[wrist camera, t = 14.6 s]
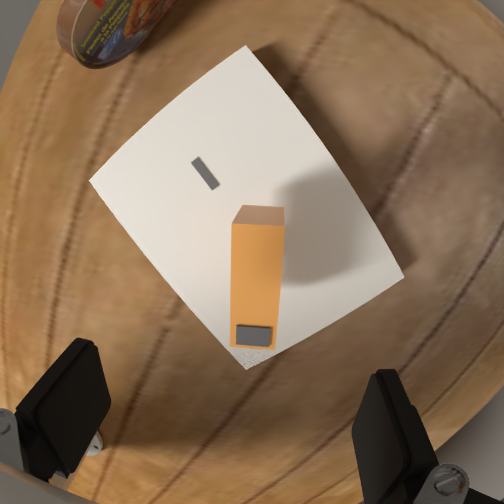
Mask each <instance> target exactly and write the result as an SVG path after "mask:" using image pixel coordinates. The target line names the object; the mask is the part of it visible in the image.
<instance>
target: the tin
mask: <svg viewBox="0 0 504 504" xmlns="http://www.w3.org/2000/svg"><path fill="white" fill-rule="evenodd" d="M176 1H177V0H64V2H63V4H62V7H61V9H60V12H59V15H58V19H57V27H56V31H57V38H58V41H59V44H60V46H61V47H62V49H63V50H64V51H65V52H66V53H67V54H69V55H70V56H71V57H73V58H74V59H76V60H77V61H78V62H79V63H80V64H81V65H82V66H84V67H86V68H90V69H102V68H106V67H109V66H111V65H114V64H116V63H117V62H119V61H121V60H122V59H124V58H126V57H127V56H128V55H129V54H131V53H132V52H133V51H134V50H135V49H136V48H137V47H138V46H139V45H140V44H141V43H142V42H143V41H144V40H145V39H146V37H147V36H148V35H149V34H150V32H151V31H152V30H153V28H154V27H155V26H156V25H157V23H158V22H159V21H160V20H161V18H162V17H163V16H164V15H165V14H166V12H167V11H168V10H169V9H170V8H171V6H172V5H173V4H174V3H175V2H176Z"/></svg>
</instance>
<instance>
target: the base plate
mask: <svg viewBox="0 0 504 504" xmlns="http://www.w3.org/2000/svg"><path fill="white" fill-rule="evenodd" d="M89 181H90V183H91V184H92V185H93V187H94V188H95V190H96V191H97V192H98V194H99V195H100V197H101V198H102V199H103V201H104V202H105V203H106V205H107V206H108V207H109V209H110V210H111V211H112V213H113V214H114V215H115V217H116V218H117V219H118V221H119V222H120V223H121V225H122V226H123V227H124V229H125V230H126V231H127V232H128V234H129V235H130V236H131V238H132V239H133V240H134V241H135V243H136V244H137V245H138V247H139V248H140V249H141V250H142V252H143V253H144V254H145V255H146V257H147V258H148V259H149V260H150V262H151V263H152V264H153V265H154V266H155V268H156V269H157V270H158V271H159V273H160V274H161V275H162V276H163V277H164V279H165V280H166V281H167V282H168V283H169V285H170V286H171V287H172V288H173V289H174V290H175V292H176V293H177V294H178V295H179V296H180V298H181V299H182V300H183V301H184V302H185V303H186V304H187V306H188V307H189V308H190V309H191V310H192V311H193V312H194V314H195V315H196V316H197V317H198V318H199V319H200V320H201V322H202V323H203V324H204V325H205V326H206V327H207V328H208V329H209V330H210V332H211V333H212V334H213V335H214V336H215V337H216V338H217V339H218V340H219V341H220V343H221V344H222V345H223V346H224V347H225V348H226V349H227V350H228V351H229V352H230V353H231V354H232V355H233V357H234V358H235V359H236V360H237V361H238V362H239V363H240V364H241V365H242V366H243V367H244V368H245V369H246V370H247V369H249V368H251V367H253V366H255V365H257V364H259V363H261V362H263V361H264V360H266V359H268V358H270V357H272V356H274V355H276V354H278V353H280V352H282V351H283V350H285V349H287V348H289V347H291V346H293V345H294V344H296V343H298V342H300V341H302V340H304V339H305V338H307V337H309V336H311V335H312V334H314V333H316V332H318V331H319V330H321V329H323V328H325V327H326V326H328V325H330V324H331V323H333V322H335V321H337V320H338V319H340V318H342V317H343V316H345V315H347V314H348V313H350V312H351V311H353V310H355V309H356V308H358V307H360V306H361V305H363V304H364V303H366V302H368V301H369V300H371V299H372V298H374V297H375V296H377V295H379V294H380V293H382V292H383V291H385V290H386V289H388V288H389V287H391V286H392V285H394V284H395V283H397V282H398V281H400V280H401V279H403V278H404V275H403V273H402V271H401V269H400V268H399V266H398V264H397V262H396V260H395V258H394V256H393V255H392V253H391V251H390V249H389V247H388V246H387V244H386V242H385V240H384V239H383V237H382V235H381V233H380V232H379V230H378V228H377V227H376V225H375V223H374V222H373V220H372V218H371V217H370V215H369V213H368V212H367V210H366V208H365V207H364V205H363V203H362V202H361V200H360V199H359V197H358V195H357V194H356V192H355V191H354V189H353V188H352V186H351V184H350V183H349V181H348V180H347V178H346V177H345V175H344V174H343V172H342V171H341V169H340V168H339V166H338V165H337V163H336V162H335V160H334V159H333V157H332V156H331V154H330V153H329V152H328V150H327V149H326V147H325V146H324V144H323V143H322V142H321V140H320V139H319V137H318V136H317V134H316V133H315V132H314V130H313V129H312V128H311V126H310V125H309V123H308V122H307V121H306V119H305V118H304V117H303V115H302V114H301V113H300V111H299V110H298V109H297V107H296V106H295V105H294V104H293V102H292V101H291V100H290V98H289V97H288V96H287V95H286V93H285V92H284V91H283V89H282V88H281V87H280V86H279V84H278V83H277V82H276V81H275V80H274V78H273V77H272V76H271V75H270V73H269V72H268V71H267V70H266V69H265V67H264V66H263V65H262V64H261V63H260V61H259V60H258V59H257V58H256V57H255V56H254V54H253V53H252V52H251V51H250V50H249V49H248V48H247V46H246V45H245V46H244V47H242V48H241V49H240V50H238V51H237V52H235V53H234V54H232V55H231V56H229V57H228V58H227V59H225V60H224V61H222V62H221V63H220V64H218V65H217V66H216V67H214V68H213V69H212V70H210V71H209V72H208V73H206V74H205V75H204V76H202V77H201V78H200V79H199V80H197V81H196V82H195V83H193V84H192V85H191V86H190V87H188V88H187V89H186V90H185V91H183V92H182V93H181V94H180V95H179V96H177V97H176V98H175V99H174V100H173V101H171V102H170V103H169V104H168V105H167V106H165V107H164V108H163V109H162V110H161V111H160V112H159V113H157V114H156V115H155V116H154V117H153V118H152V119H151V120H150V121H148V122H147V123H146V124H145V125H144V126H143V127H142V128H141V129H140V130H139V131H138V132H137V133H135V134H134V135H133V136H132V137H131V138H130V139H129V140H128V141H127V142H126V143H125V144H124V145H123V146H122V147H121V148H120V149H119V150H118V151H117V152H116V153H115V154H114V155H113V156H112V157H111V158H110V159H109V160H108V161H107V162H106V163H105V164H104V165H103V166H102V167H101V168H100V169H99V170H98V171H97V173H96V174H95V175H94V176H93V177H92V178H91V179H90V180H89ZM242 205H257V206H274V207H284V213H285V237H284V251H283V264H282V277H281V289H280V301H279V313H278V324H277V335H276V345H275V350H266V349H252V348H240V347H230V286H231V225H232V222H233V220H234V218H235V216H236V215H237V213H238V211H239V210H240V208H241V206H242Z"/></svg>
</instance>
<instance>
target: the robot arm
mask: <svg viewBox="0 0 504 504" xmlns="http://www.w3.org/2000/svg"><path fill="white" fill-rule="evenodd" d="M110 406H111V398H110V395H109V391H108V388H107V384H106V380H105V376H104V372H103V368H102V364H101V360H100V356H99V352H98V348H97V346H95V345H94V343H93V342H92V341H91V340H87V339H82V338H76V339H75V340H74V341H73V342H72V343H71V344H70V345H69V346H68V348H67V349H66V350H65V351H64V352H63V353H62V354H61V355H60V356H59V358H58V359H57V360H56V361H55V362H54V363H53V364H52V366H51V367H50V368H49V369H48V370H47V371H46V373H45V374H44V375H43V376H42V377H41V378H40V380H39V381H38V382H37V383H36V384H35V385H34V387H33V388H32V389H31V390H30V391H29V393H28V394H27V395H26V396H25V397H24V399H23V400H22V401H21V402H20V403H19V405H18V406H17V407H16V410H17V411H16V412H15V413H14V414H13V413H12V412H11V411H9V410H8V409H4V408H0V504H99V503H96V502H93V501H90V500H88V499H85V498H82V497H80V496H77V495H75V494H72V493H70V492H68V491H67V490H68V489H69V487H70V485H71V483H72V481H73V479H74V477H75V475H76V473H77V471H78V469H79V468H80V466H81V464H82V462H83V460H84V458H85V456H86V455H88V456H93V455H97V454H99V453H100V451H101V449H102V447H103V440H102V437H101V436H100V434H99V432H98V431H97V430H98V428H99V427H100V425H101V423H102V421H103V419H104V418H105V416H106V414H107V412H108V410H109V409H110ZM352 439H353V444H354V449H355V454H356V459H357V464H358V469H359V475H360V480H361V486H362V492H363V497H364V503H365V504H504V503H503V502H501V501H499V500H496V499H494V498H492V497H489V496H487V495H485V494H482V493H480V492H478V491H476V490H474V489H471V488H469V484H470V482H469V477H468V475H467V473H466V472H465V471H464V470H463V469H462V468H461V467H459V466H457V465H455V464H450V463H449V464H448V463H446V464H441V465H439V463H438V460H437V457H436V455H435V452H434V450H433V447H432V445H431V442H430V440H429V437H428V435H427V433H426V430H425V428H424V425H423V423H422V421H421V418H420V416H419V414H418V411H417V409H416V408H415V406H413V405H411V403H410V401H409V399H408V397H407V394H406V392H405V390H404V387H403V385H402V383H401V381H400V378H399V376H398V374H397V372H396V370H395V369H379V370H377V372H376V374H372V375H371V377H370V380H369V383H368V386H367V389H366V391H365V394H364V397H363V400H362V402H361V405H360V408H359V410H358V413H357V415H356V418H355V421H354V423H353V426H352Z"/></svg>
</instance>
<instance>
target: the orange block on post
mask: <svg viewBox="0 0 504 504" xmlns="http://www.w3.org/2000/svg"><path fill="white" fill-rule="evenodd" d="M284 237H285V213H284V207H274V206H257V205H242V206H241V208H240V210H239V211H238V213H237V215H236V216H235V218H234V220H233V222H232V225H231V286H230V347H240V348H252V349H266V350H275V345H276V335H277V324H278V313H279V301H280V289H281V277H282V264H283V251H284Z"/></svg>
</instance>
